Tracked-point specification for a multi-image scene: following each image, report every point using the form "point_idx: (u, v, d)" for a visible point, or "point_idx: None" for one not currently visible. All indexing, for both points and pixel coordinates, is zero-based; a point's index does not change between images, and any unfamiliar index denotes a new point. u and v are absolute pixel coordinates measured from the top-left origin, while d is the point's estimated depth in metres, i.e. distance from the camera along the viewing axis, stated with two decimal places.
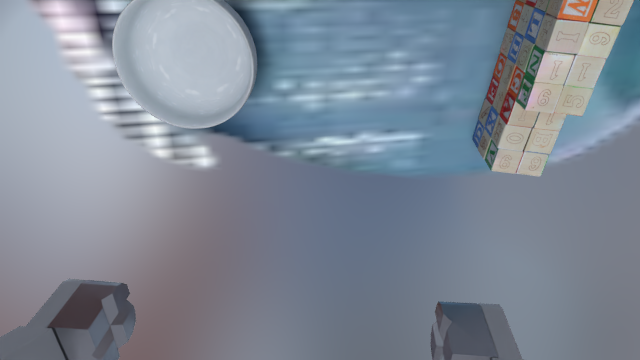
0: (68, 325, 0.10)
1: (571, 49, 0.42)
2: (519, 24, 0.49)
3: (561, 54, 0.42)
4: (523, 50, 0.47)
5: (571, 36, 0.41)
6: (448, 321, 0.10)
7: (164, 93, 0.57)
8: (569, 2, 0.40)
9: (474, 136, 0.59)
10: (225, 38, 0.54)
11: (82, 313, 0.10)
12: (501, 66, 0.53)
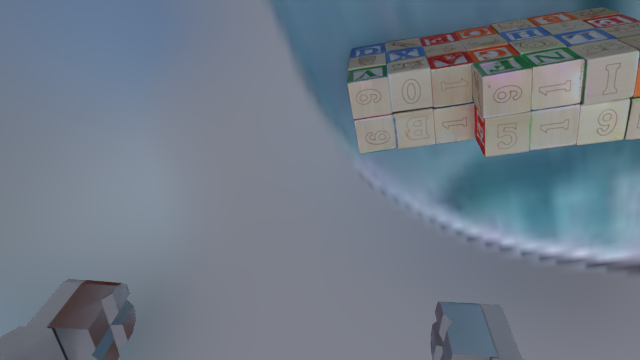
0: (68, 325, 0.10)
1: (590, 94, 0.28)
2: (552, 24, 0.34)
3: (581, 83, 0.27)
4: (539, 41, 0.31)
5: (612, 83, 0.27)
6: (448, 321, 0.10)
7: None
8: None
9: (358, 49, 0.39)
10: None
11: (82, 313, 0.10)
12: (479, 34, 0.36)
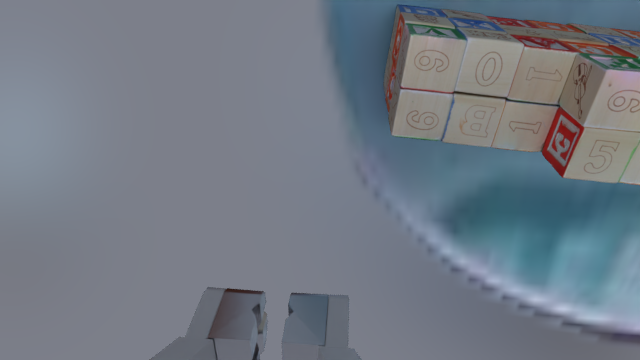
0: (227, 336, 0.10)
1: None
2: None
3: None
4: None
5: None
6: (291, 311, 0.10)
7: None
8: None
9: (406, 6, 0.30)
10: None
11: (237, 323, 0.10)
12: (560, 28, 0.29)
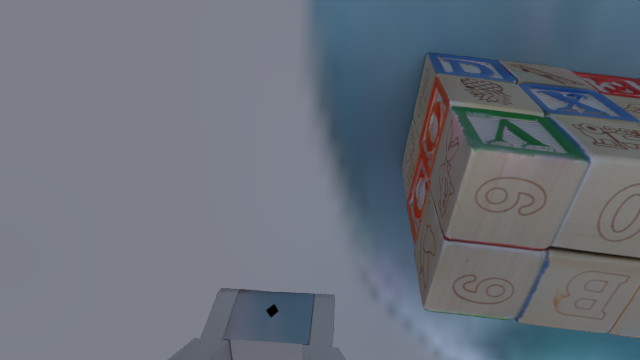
0: (242, 336, 0.10)
1: None
2: None
3: None
4: None
5: None
6: (277, 310, 0.10)
7: None
8: None
9: (442, 57, 0.18)
10: None
11: (252, 324, 0.10)
12: None
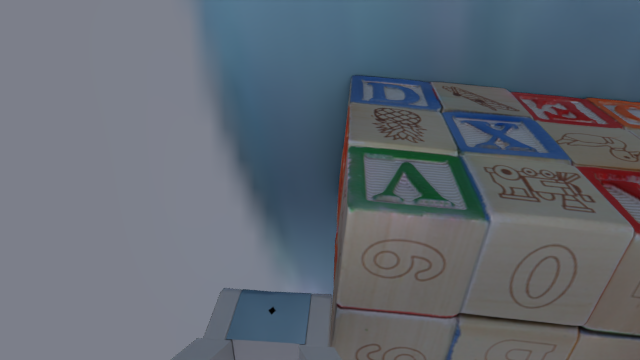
0: (245, 337, 0.10)
1: None
2: None
3: None
4: None
5: None
6: (274, 310, 0.10)
7: None
8: None
9: (367, 80, 0.16)
10: None
11: (255, 324, 0.10)
12: None
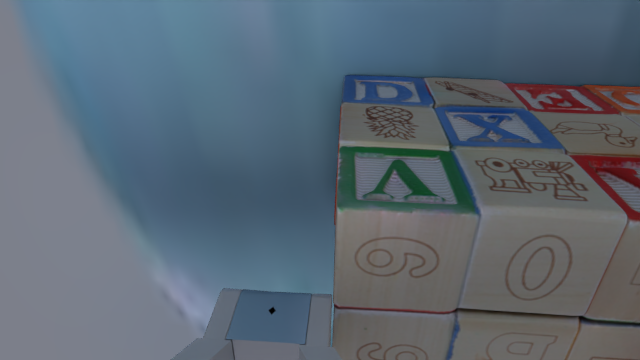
0: (245, 337, 0.10)
1: None
2: None
3: None
4: None
5: None
6: (274, 310, 0.10)
7: None
8: None
9: (360, 79, 0.16)
10: None
11: (255, 324, 0.10)
12: None
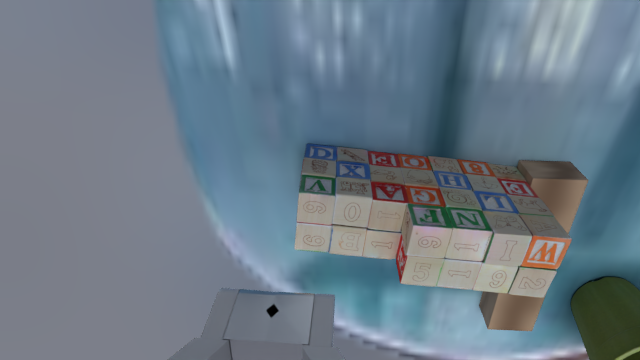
0: (242, 337, 0.10)
1: (491, 257, 0.34)
2: (475, 176, 0.40)
3: (486, 248, 0.33)
4: (462, 195, 0.37)
5: (508, 254, 0.33)
6: (277, 310, 0.10)
7: None
8: (548, 243, 0.33)
9: (312, 146, 0.42)
10: None
11: (252, 324, 0.10)
12: (417, 165, 0.41)
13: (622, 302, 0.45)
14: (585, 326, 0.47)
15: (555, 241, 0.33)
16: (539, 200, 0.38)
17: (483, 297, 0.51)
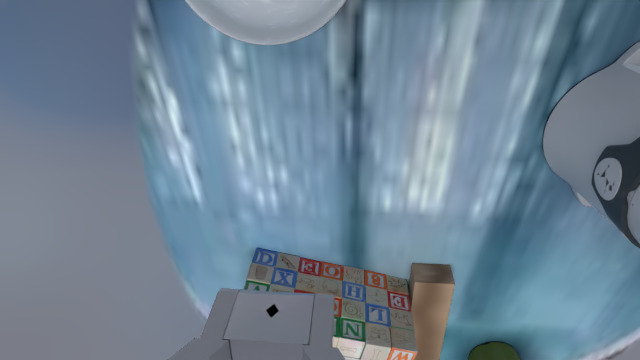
0: (242, 337, 0.10)
1: (364, 357, 0.50)
2: (371, 289, 0.56)
3: (361, 351, 0.50)
4: (355, 307, 0.53)
5: (375, 356, 0.50)
6: (277, 310, 0.10)
7: None
8: (402, 352, 0.50)
9: (260, 250, 0.58)
10: None
11: (252, 324, 0.10)
12: (333, 274, 0.57)
13: None
14: None
15: (407, 352, 0.49)
16: (409, 314, 0.54)
17: None
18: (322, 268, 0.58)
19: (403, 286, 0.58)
